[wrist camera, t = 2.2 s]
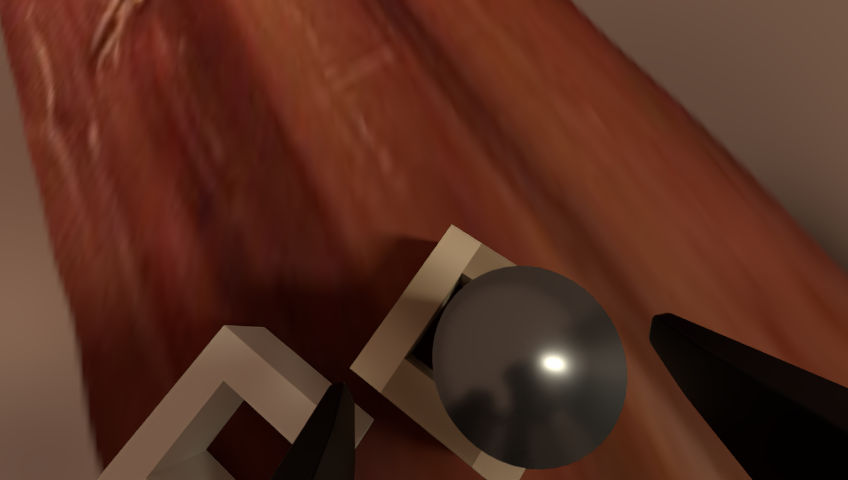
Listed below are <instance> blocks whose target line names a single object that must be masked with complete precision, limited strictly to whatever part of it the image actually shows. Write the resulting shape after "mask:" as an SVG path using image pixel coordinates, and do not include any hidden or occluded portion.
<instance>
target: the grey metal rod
mask: <svg viewBox="0 0 848 480" xmlns="http://www.w3.org/2000/svg"><path fill="white" fill-rule="evenodd" d="M432 364H433V374H434V379H435V383H436V388H437V391H438V394H439V396H440V399H441V402H442V404H443V406H444V408H445V410H446V412H447V414H448V415H449V417H450V418H451V420H452V421H453V423H454V424H455V426H456V427H457V428H458V429H459V431H460V432H461V433H462V434H463V435H464V436H465V437H466V438H467V439H468V440H469V441H470V442H471V443H472V444H473V445H474V446H476V447H477V448H478V449H480V450H481V451H483V452H484V453H486V454H487V455H489V456H491V457H493V458H495V459H497V460H499V461H501V462H504V463H507V464H509V465H512V466H516V467H521V468H526V469H550V468H557V467H561V466H565V465H568V464H571V463H573V462H575V461H577V460H580V459H581V458H583V457H585V456H586V455H588V454H589V453H591V452H592V451H593V450H594V449H596V448H597V447H598V446H599V445H600V444H601V443H602V442H603V441H604V440H605V438H606V437H607V436H608V435H609V434H610V432H611V431H612V429H613V427H614V426H615V424H616V422H617V420H618V418H619V415H620V413H621V410H622V407H623V404H624V400H625V396H626V387H627V367H626V360H625V354H624V350H623V347H622V343H621V340H620V338H619V335H618V333H617V330H616V328H615V326H614V325H613V323H612V321H611V319H610V317H609V316H608V315H607V313H606V312H605V310H604V309H603V308H602V306H601V305H600V304H599V303H598V302H597V301H596V300H595V299H594V297H593V296H591V295H590V294H589V293H588V292H587V291H586V290H585V289H584V288H582V287H581V286H579V285H578V284H576V283H575V282H574V281H572V280H570V279H568V278H566V277H564V276H563V275H560V274H558V273H555V272H553V271H550V270H546V269H542V268H538V267H531V266H510V267H503V268H499V269H495V270H492V271H489V272H487V273H484V274H482V275H480V276H478V277H477V278H475V279H473V280H472V281H470V282H469V283H468V284H466V285H465V286H464V287H463V288H462V289H461V290H460V291H459V292H458V293H457V294H455V296H454V297H453V298H452V300H451V301H450V302H449V303H448V305H447V307H446V309H445V310H444V312H443V314H442V316H441V318H440V321H439V323H438V326H437V329H436V333H435V337H434V343H433V353H432Z"/></svg>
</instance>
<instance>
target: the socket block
mask: <svg viewBox="0 0 848 480" xmlns="http://www.w3.org/2000/svg"><path fill="white" fill-rule="evenodd" d="M330 385H332V383H330V382H329V381H328V380H327V379H326V378H324V377H323V376H322V375H321V374H320V373H318V372H317V371H316V370H315V369H314V368H313V367H311V366H310V365H309V364H308V363H307V362H305V361H304V360H303V359H302V358H301V357H299V356H298V355H297V354H296V353H295V352H293V351H292V350H291V349H290V348H289V347H288V346H286V345H285V344H284V343H283V342H282V341H280V340H279V339H278V338H277V337H276V336H274V335H273V334H272V333H271V332H270V331H268V330H267V329H266V328H265V327H251V326H231V325H224V326H223V327H222V328H221V330H220V331H219V332H218V333H217V334H216V336H215V337H214V338H213V339H212V340H211V342H210V343H209V344H208V345H207V347H206V348H205V349H204V350H203V351H202V353H201V354H200V355H199V356H198V357H197V359H196V360H195V361H194V362H193V363H192V365H191V366H190V367H189V368H188V370H187V371H186V372H185V373H184V374H183V376H182V377H181V378H180V379H179V380H178V382H177V383H176V384H175V385H174V386H173V388H172V389H171V390H170V391H169V393H168V394H167V395H166V396H165V397H164V399H163V400H162V401H161V402H160V403H159V405H158V406H157V407H156V408H155V409H154V411H153V412H152V413H151V414H150V416H149V417H148V418H147V419H146V420H145V422H144V423H143V424H142V425H141V426H140V428H139V429H138V430H137V431H136V433H135V434H134V435H133V436H132V437H131V439H130V440H129V441H128V442H127V443H126V445H125V446H124V447H123V448H122V449H121V451H120V452H119V453H118V454H117V456H116V457H115V458H114V459H113V460H112V462H111V463H110V464H109V465H108V466H107V468H106V469H105V470H104V471H103V472H102V474H101V475H100V476H99V477H98V479H97V480H236V479H235V478H234V477H233V476H232V475H231V474H230V473H229V472H228V471H227V470H226V469H225V468H224V467H223V466H222V465H221V464H220V463H219V462H218V461H217V460H216V459H215V458H214V457H213V456H212V455H211V454H210V453H209V452H208V451H207V450H206V449H207V448H208V446H209V445H210V444H211V442H212V441H213V440H214V439H215V437H216V436H217V435H218V433H219V432H220V431H221V429H222V428H223V427H224V426H225V424H226V423H227V422H228V420H229V419H230V418H231V416H232V415H233V414H234V413H235V411H236V410H237V409H238V407H239V406H240V405H241V403H242V402H243V401H244V400H245V401H246V402H247V403H248V404H249V405H251V406H252V407H253V408H254V409H255V410H256V411H257V412H258V413H259V414H260V415H261V416H262V417H264V418H265V419H266V420H267V421H268V422H269V423H270V424H271V425H272V426H273V427H274V428H275V429H276V430H278V431H279V432H280V433H281V434H282V435H283V436H284V437H285V438H286V439H287V440H288V441H289V442H291V443H292V444H293V442H294V441H295V439H296V438H297V436H298V435H299V433H300V431H301V430H302V428H303V427H304V425H305V424H306V422H307V420H308V419H309V417H310V416H311V414H312V413H313V411H314V409H315V408H316V406H317V405H318V403H319V402H320V400H321V398H322V397H323V395H324V394H325V392H326V391H327V389H328V388H329V386H330ZM354 404H355V403H354ZM373 421H374V419H373V418H372V417H371V416H370V415H369V414H367V413H366V412H365V411H364V410H363V409H361V408H360V407H359V406H358V405H357V404H355V448H356V447H357V445H358V444H359V442H360V441H361V439H362V438H363V436H364V435H365V433H366V432H367V430H368V429H369V427H370V426H371V424H372V423H373Z"/></svg>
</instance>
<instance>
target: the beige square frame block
mask: <svg viewBox="0 0 848 480" xmlns="http://www.w3.org/2000/svg"><path fill="white" fill-rule="evenodd" d="M510 266H517V265H515V264H513V263H512V262H510V261H509V260H507V259H506V258H504V257H502V256H501V255H499V254H498V253H496V252H494V251H493V250H491V249H490V248H488V247H487V246H485V245H483V244H482V243H480V242H479V241H477V240H475V239H474V238H472V237H471V236H469V235H468V234H466V233H464V232H463V231H461V230H460V229H458V228H456V227H455V226H453V225H451V226H450V228H449V229H448V231H447V232H446V233H445V235H444V236H443V238H442V239H441V240H440V242H439V243H438V245H437V246H436V247H435V249H434V250H433V252H432V253H431V254H430V256H429V257H428V259H427V260H426V261H425V263H424V264H423V266H422V267H421V269H420V270H419V271H418V273H417V274H416V276H415V277H414V278H413V280H412V281H411V283H410V284H409V285H408V287H407V288H406V290H405V291H404V292H403V294H402V295H401V297H400V298H399V299H398V301H397V302H396V304H395V305H394V306H393V308H392V309H391V311H390V312H389V313H388V315H387V316H386V318H385V319H384V320H383V322H382V323H381V325H380V326H379V328H378V329H377V330H376V332H375V333H374V335H373V336H372V337H371V339H370V340H369V342H368V343H367V344H366V346H365V347H364V349H363V350H362V351H361V353H360V354H359V356H358V357H357V358H356V360H355V361H354V363H353V364H352V365H351V367H350V369H351V370H353V371H354V372H355V373H356V374H358V375H359V376H360V377H361V378H363V379H364V380H365V381H366V382H367V383H369V384H370V385H371V386H372V387H374V388H375V389H376V390H377V391H379V392H380V393H381V394H382V395H383V396H385V397H386V398H387V399H388V400H390V401H391V402H392V403H393V404H395V405H396V406H397V407H398V408H399V409H401V410H402V411H403V412H404V413H406V414H407V415H408V416H409V417H411V418H412V419H413V420H414V421H415V422H417V423H418V424H419V425H420V426H422V427H423V428H424V429H425V430H427V431H428V432H429V433H430V434H431V435H433V436H434V437H435V438H436V439H438V440H439V441H440V442H441V443H443V444H444V445H445V446H446V447H447V448H449V449H450V450H451V451H452V452H454V453H455V454H456V455H457V456H458V457H460V458H461V459H462V460H463V461H465V462H466V463H467V464H468V465H470V466H471V467H472V468H473V469H474V470H476V471H477V472H478V473H479V474H481V475H482V476H483V477H484V478H486V479H487V480H519V479H520V477H521V476H522V474H523V472H524V470H525V468H521V467H516V466H512V465H509V464H507V463H504V462H501V461H499V460H497V459H495V458H493V457H491V456H489V455H487V454H486V453H484V452H483V451H481V450H480V449H478V448H477V447H476V446H474V445H473V444H472V443H471V442H470V441H469V440H468V439H467V438H466V437H465V436H464V435H463V434H462V433H461V432H460V431H459V429H458V428H457V427H456V426H455V424H454V423H453V421H452V420H451V418H450V417H449V415H448V414H447V412H446V410H445V408H444V406H443V404H442V402H441V399H440V396H439V394H438V391H437V388H436V383H435V379H434V374H433V370H432V369H431V368H429V367H428V366H427V365H426V364H424V363H423V362H422V361H420V360H419V359H418V358H416V357H415V356H414V355H412V353H413V351H414V350H415V349H416V347H417V346H418V344H419V343H420V341H421V340H422V338H423V337H424V335H425V334H426V332H427V331H428V329H429V328H430V326H431V325H432V323H433V322H434V320H435V319H436V317H437V316H438V314H439V313H440V311H441V310H442V308H443V307H444V306H445V304H446V303H447V301H448V300H449V298H450V297H451V295H452V294H453V292H454V291H455V289H456V288H457V286H458V285H461V286H462V287H464V286H465V285H466V284H468V283H469V282H470V281H472V280H473V279H475V278H477V277H478V276H480V275H482V274H484V273H487V272H489V271H492V270H495V269H499V268H503V267H510Z"/></svg>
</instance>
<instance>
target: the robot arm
mask: <svg viewBox="0 0 848 480" xmlns="http://www.w3.org/2000/svg"><path fill="white" fill-rule="evenodd" d="M649 340H650V343H651V345H652V346H653V348H654V349H655V351H656V352H657V354H658V355H659V357H660V359H661V360H662V362H663V363H664V365H665V366H666V368H667V369H668V371H669V372H670V374H671V375H672V377H673V378H674V380H675V381H676V383H677V384H678V386H679V387H680V389H681V390H682V392H683V393H684V394H685V396H686V397H687V398H688V400H689V401H690V402H691V403H692V405H693V406H694V407H695V408H696V410H697V411H698V412H699V413H700V415H701V416H702V417H703V418H704V420H705V421H706V422H707V423H708V425H709V426H710V427H711V428H712V430H713V431H714V432H715V433H716V435H717V436H718V437H719V438H720V440H721V441H722V442H723V443H724V445H725V446H726V447H727V448H728V450H729V451H730V452H731V453H732V455H733V456H734V457H735V458H736V460H737V461H738V462H739V463H740V465H741V466H742V467H743V468H744V470H745V471H746V472H747V473H748V475H749V476H750V477H751V478H752V480H848V388H846V387H844V386H842V385H839V384H837V383H834V382H832V381H830V380H827V379H825V378H823V377H820V376H818V375H816V374H813V373H811V372H808V371H806V370H804V369H801V368H799V367H797V366H794V365H792V364H790V363H787V362H785V361H782V360H780V359H778V358H775V357H773V356H771V355H768V354H766V353H764V352H761V351H759V350H756V349H754V348H752V347H749V346H747V345H745V344H742V343H740V342H738V341H735V340H733V339H730V338H728V337H726V336H723V335H721V334H719V333H716V332H714V331H712V330H709V329H707V328H705V327H702V326H700V325H697V324H695V323H693V322H690V321H688V320H686V319H683V318H681V317H679V316H676V315H674V314H671V313H664V314H659V315H655V316H654V317H653V318H652V321H651V326H650V331H649ZM354 473H355V404H354V400H353V397H352V395H351V393H350V391H349V389H348V387H347V385H346V383H345V382H340V383H335V384H332V385H330V386H329V388H328V389H327V391H326V392H325V394H324V395H323V397H322V398H321V400H320V402H319V403H318V405H317V406H316V408H315V409H314V411H313V413H312V414H311V416H310V417H309V419H308V420H307V422H306V424H305V425H304V427H303V428H302V430H301V431H300V433H299V435H298V436H297V438H296V439H295V441H294V442H293V444H292V446H291V447H290V449H289V450H288V452H287V453H286V455H285V457H284V458H283V460H282V461H281V463H280V464H279V466H278V468H277V469H276V471H275V472H274V474H273V475H272V477H271V479H270V480H354Z"/></svg>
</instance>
